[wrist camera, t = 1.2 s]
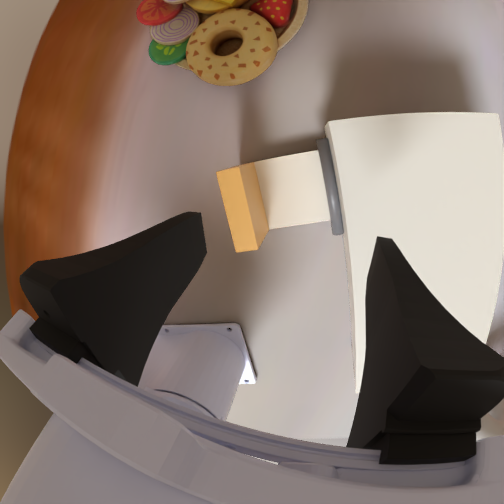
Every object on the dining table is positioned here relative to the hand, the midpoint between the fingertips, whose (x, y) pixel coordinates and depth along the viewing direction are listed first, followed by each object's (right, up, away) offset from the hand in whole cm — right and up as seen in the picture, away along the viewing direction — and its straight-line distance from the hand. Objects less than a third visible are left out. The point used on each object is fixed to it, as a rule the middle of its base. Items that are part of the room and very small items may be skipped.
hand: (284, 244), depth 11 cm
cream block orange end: (+5, +5, +8) cm, 11 cm away
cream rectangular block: (+11, 0, +9) cm, 14 cm away
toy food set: (-3, +19, +5) cm, 20 cm away
